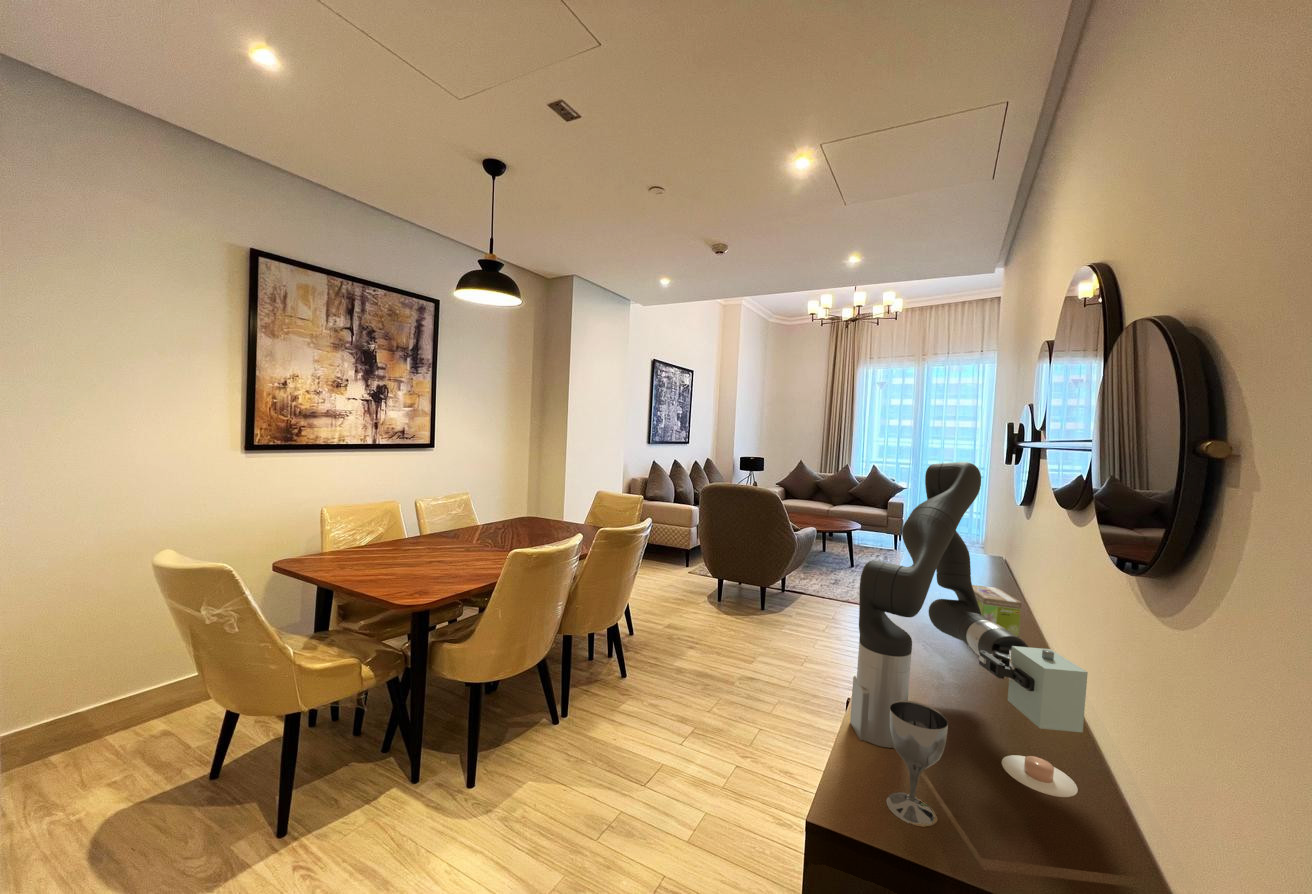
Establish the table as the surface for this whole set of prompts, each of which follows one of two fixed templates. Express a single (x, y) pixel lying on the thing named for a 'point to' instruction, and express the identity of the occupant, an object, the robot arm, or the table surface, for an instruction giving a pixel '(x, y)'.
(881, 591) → the robot arm
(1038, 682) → the cloche
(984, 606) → the tea box
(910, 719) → the wine glass
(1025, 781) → the plate
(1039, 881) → the table surface
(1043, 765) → the pink rounded disc
